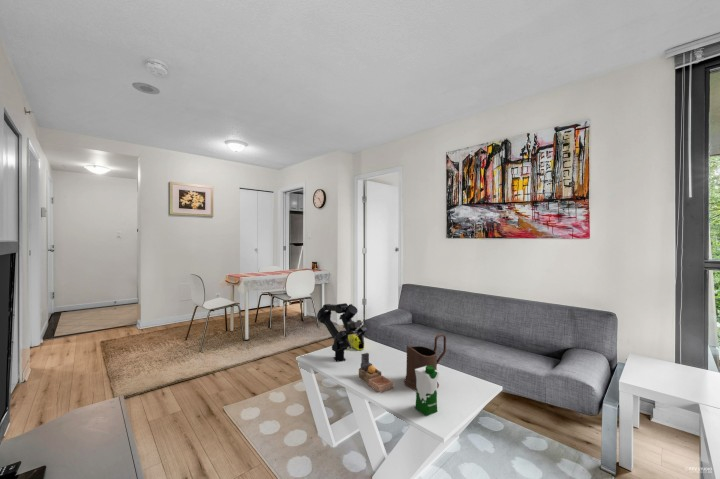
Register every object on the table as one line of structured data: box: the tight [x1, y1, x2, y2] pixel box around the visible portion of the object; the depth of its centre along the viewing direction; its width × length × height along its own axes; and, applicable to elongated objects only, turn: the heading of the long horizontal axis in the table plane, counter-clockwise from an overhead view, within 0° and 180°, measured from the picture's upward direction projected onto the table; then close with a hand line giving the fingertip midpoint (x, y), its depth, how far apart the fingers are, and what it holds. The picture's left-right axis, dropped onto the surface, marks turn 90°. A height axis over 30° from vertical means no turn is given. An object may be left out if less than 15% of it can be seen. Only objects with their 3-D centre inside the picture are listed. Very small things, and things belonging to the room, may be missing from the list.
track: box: [358, 367, 382, 385], centre depth 171 cm, size 10×8×5 cm
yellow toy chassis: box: [348, 334, 365, 351], centre depth 222 cm, size 16×6×8 cm, turn 32°
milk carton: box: [414, 366, 440, 417], centre depth 142 cm, size 9×9×20 cm
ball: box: [368, 364, 376, 373], centre depth 170 cm, size 4×4×4 cm
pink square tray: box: [367, 375, 394, 393], centre depth 163 cm, size 9×9×3 cm
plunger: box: [360, 352, 373, 371], centre depth 174 cm, size 4×5×8 cm
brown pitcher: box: [403, 333, 447, 391], centre depth 169 cm, size 18×24×25 cm
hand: (357, 346), depth 184 cm, fingers open, 9 cm apart
